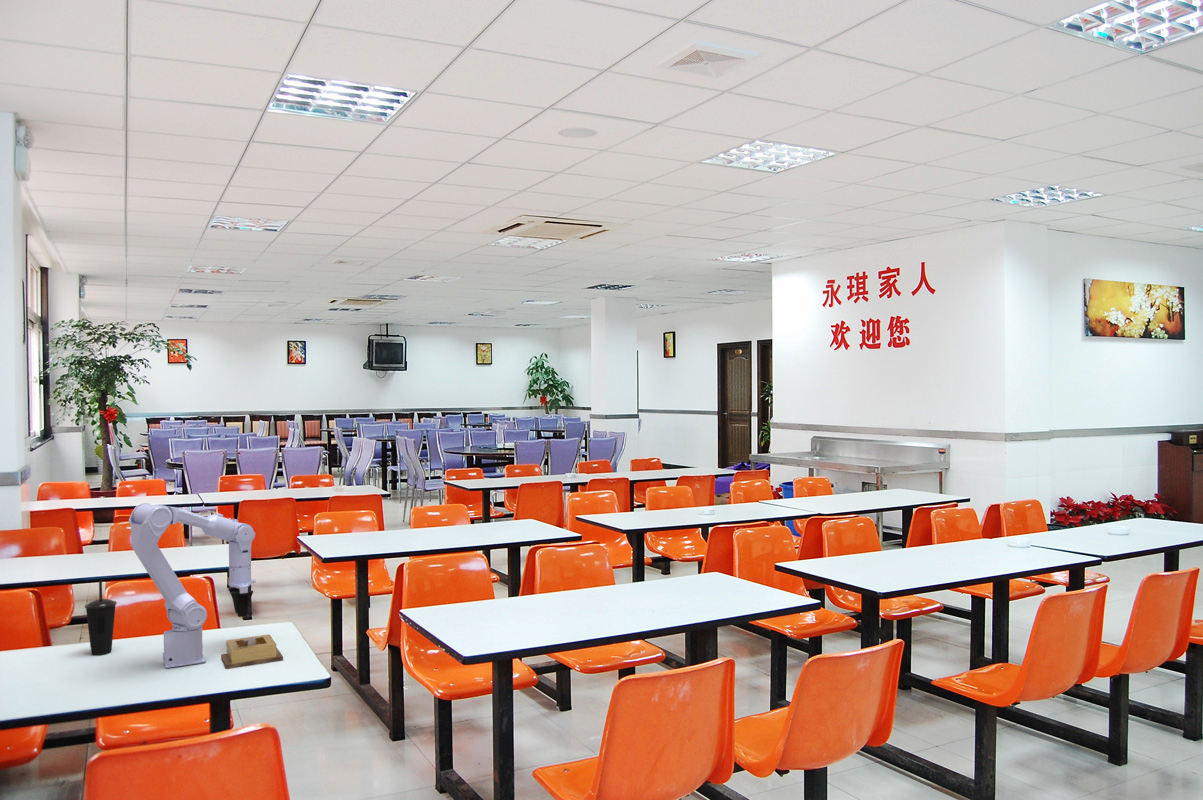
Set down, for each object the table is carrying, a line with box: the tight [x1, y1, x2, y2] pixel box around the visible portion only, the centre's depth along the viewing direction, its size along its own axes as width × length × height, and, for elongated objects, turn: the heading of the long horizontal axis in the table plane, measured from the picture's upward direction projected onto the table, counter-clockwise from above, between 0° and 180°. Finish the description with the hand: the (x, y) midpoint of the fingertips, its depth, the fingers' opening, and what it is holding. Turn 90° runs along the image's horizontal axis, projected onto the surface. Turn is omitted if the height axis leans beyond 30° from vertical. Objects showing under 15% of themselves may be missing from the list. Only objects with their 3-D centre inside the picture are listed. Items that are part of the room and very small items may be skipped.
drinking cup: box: [84, 580, 118, 657], centre depth 240 cm, size 8×8×20 cm
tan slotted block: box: [225, 634, 277, 664], centre depth 232 cm, size 11×11×4 cm
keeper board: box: [220, 636, 284, 670], centre depth 232 cm, size 14×11×6 cm
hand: (240, 614), depth 243 cm, fingers open, 4 cm apart
